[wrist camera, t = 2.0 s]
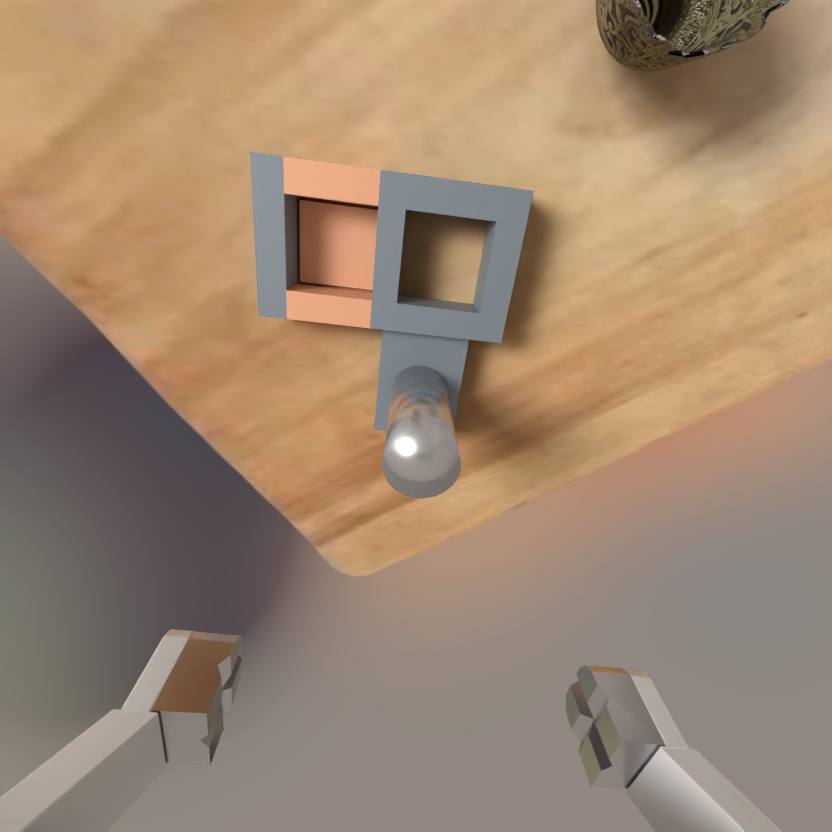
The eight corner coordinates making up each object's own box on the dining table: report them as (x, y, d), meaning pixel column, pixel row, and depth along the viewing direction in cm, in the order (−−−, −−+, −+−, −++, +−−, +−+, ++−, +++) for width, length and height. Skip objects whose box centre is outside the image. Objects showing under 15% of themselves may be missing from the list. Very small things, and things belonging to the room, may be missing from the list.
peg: (449, 368, 29) (467, 436, 20) (441, 418, 31) (454, 501, 22) (394, 362, 29) (386, 428, 20) (389, 413, 30) (379, 494, 21)
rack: (521, 193, 26) (533, 190, 23) (473, 427, 33) (479, 446, 31) (267, 159, 25) (250, 152, 22) (276, 407, 32) (264, 424, 30)
